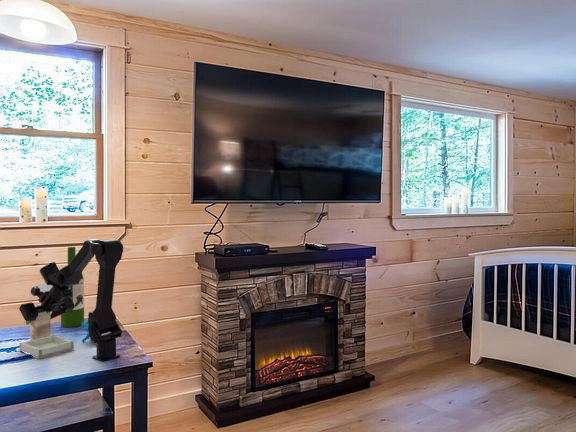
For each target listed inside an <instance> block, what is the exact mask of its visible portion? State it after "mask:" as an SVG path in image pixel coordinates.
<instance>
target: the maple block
mask: <svg viewBox="0 0 576 432" xmlns="http://www.w3.org/2000/svg"><path fill="white" fill-rule="evenodd" d="M34 305H35V307H38V306H41V303H39V304H34ZM50 315H51V312H48V313H46V312H43V313H38V317H37V318H36V320H35V321H33V322H32V323H30V324H29V326H30V327H29V330H30V337H29V338H30V341H31V340H35V339H39V338H43V337H47V336H52V334H51V333H52V332H51V331H52V328H51V327H52V326H51V324H52V323H51V319H50Z"/></svg>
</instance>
